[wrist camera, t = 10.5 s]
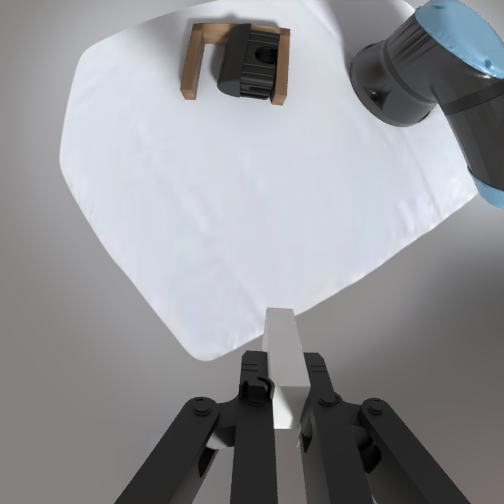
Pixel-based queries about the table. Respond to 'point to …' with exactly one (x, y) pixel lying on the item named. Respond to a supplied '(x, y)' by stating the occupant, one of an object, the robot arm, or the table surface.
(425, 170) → the table surface
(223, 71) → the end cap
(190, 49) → the corral
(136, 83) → the table surface
